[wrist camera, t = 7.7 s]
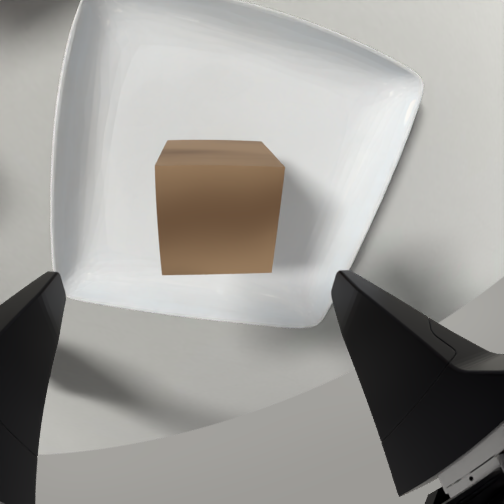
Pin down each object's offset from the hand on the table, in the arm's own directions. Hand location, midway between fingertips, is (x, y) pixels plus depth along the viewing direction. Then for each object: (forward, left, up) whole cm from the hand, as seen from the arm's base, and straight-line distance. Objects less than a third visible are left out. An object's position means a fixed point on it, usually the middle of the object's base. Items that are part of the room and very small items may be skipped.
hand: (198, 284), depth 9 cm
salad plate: (0, -2, -13) cm, 13 cm away
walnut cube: (0, -1, -9) cm, 9 cm away
